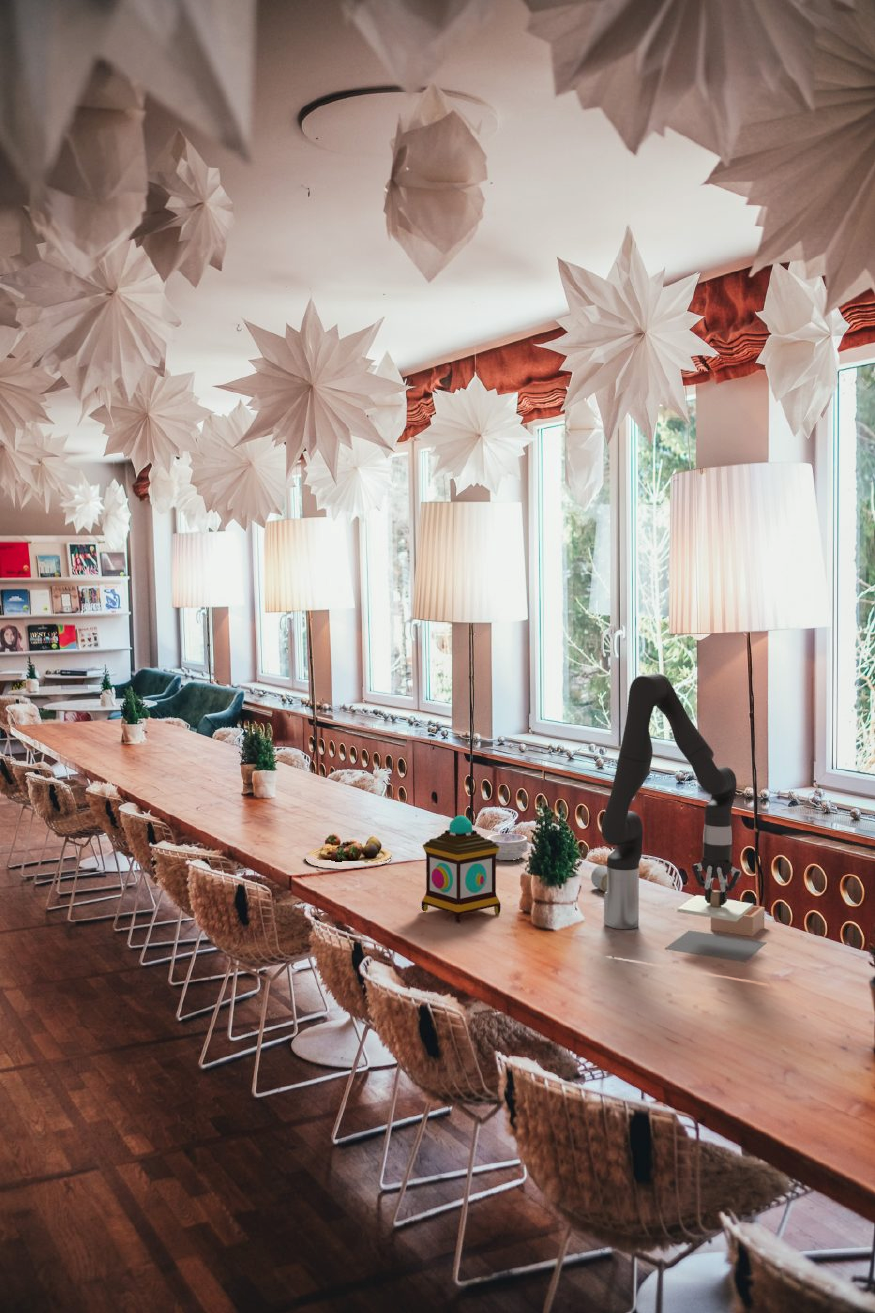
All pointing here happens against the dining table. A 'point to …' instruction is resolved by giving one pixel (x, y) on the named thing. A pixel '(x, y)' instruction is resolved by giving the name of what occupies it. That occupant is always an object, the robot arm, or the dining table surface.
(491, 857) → the decorative lantern
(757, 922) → the terracotta dish
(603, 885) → the ceramic mug
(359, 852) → the wooden plate with food
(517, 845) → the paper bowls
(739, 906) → the cream lid
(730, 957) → the rubber mat
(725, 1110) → the dining table surface
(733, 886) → the robot arm
